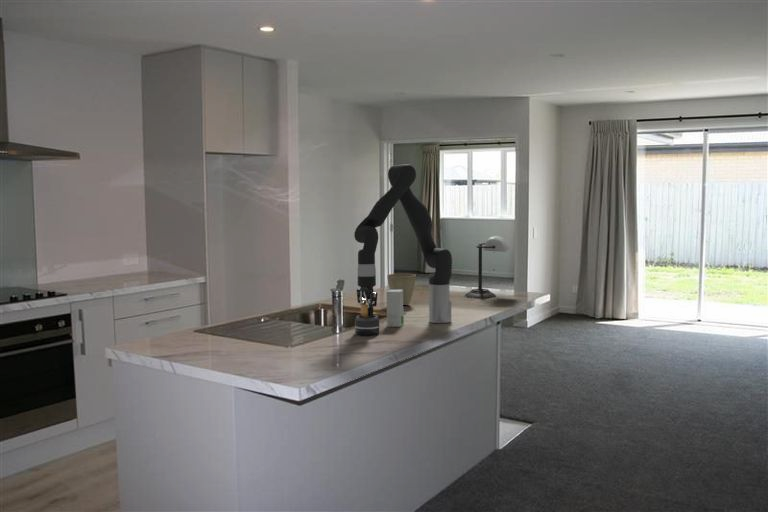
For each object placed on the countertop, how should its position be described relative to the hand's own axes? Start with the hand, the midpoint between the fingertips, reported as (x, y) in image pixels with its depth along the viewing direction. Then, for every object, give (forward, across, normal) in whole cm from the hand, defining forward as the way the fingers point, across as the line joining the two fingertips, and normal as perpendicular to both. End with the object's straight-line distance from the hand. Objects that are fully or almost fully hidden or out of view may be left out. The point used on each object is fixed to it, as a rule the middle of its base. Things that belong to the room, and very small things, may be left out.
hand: (367, 315), depth 272 cm
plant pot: (+8, +53, -50) cm, 73 cm away
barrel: (+8, 0, 0) cm, 8 cm away
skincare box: (+8, +9, -19) cm, 22 cm away
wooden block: (+1, 0, 0) cm, 1 cm away
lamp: (+8, +53, -106) cm, 119 cm away
